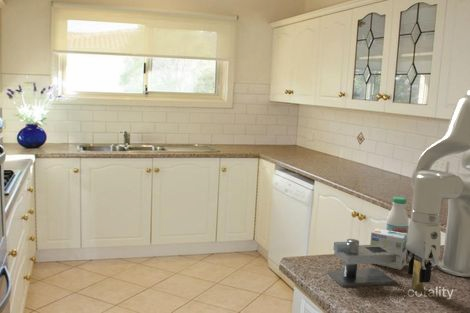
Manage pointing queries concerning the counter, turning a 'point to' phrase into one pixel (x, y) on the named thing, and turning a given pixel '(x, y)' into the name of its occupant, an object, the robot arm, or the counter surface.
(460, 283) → the counter surface
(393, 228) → the milk bottle
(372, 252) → the grey metal stand
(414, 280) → the pin
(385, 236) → the light bulb box
